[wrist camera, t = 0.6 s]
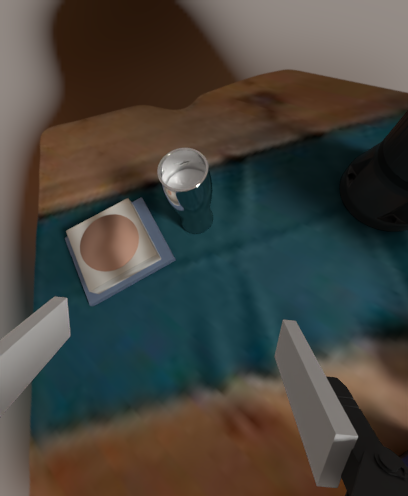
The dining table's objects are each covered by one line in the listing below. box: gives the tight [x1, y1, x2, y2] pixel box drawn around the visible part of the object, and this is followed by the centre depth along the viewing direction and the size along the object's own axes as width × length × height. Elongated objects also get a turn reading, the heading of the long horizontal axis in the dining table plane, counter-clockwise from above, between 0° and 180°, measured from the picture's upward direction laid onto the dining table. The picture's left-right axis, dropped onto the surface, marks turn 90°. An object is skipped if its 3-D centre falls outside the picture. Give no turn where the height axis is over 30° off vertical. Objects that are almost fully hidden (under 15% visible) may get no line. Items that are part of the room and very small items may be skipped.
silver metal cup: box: [157, 148, 213, 234], centre depth 38 cm, size 7×7×15 cm
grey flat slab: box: [65, 197, 176, 306], centre depth 44 cm, size 16×14×1 cm
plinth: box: [66, 198, 161, 294], centre depth 42 cm, size 12×12×3 cm
